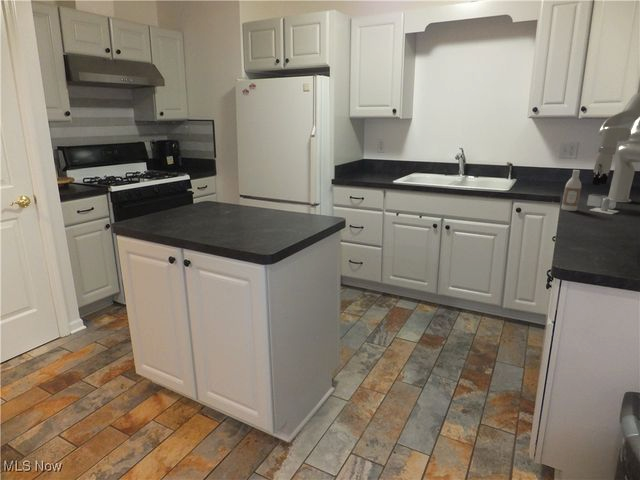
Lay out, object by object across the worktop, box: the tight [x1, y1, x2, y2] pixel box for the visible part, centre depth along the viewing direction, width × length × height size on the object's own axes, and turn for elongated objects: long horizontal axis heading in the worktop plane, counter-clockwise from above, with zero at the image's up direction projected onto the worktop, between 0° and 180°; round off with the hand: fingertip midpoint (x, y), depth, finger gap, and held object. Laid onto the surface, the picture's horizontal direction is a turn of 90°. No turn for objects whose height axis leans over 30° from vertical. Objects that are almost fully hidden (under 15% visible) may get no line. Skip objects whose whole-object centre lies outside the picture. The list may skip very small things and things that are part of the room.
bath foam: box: [561, 169, 582, 212], centre depth 215 cm, size 7×7×20 cm
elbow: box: [586, 193, 618, 210], centre depth 227 cm, size 12×6×6 cm, turn 40°
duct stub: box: [589, 198, 620, 215], centre depth 216 cm, size 10×10×6 cm
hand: (599, 184), depth 226 cm, fingers open, 9 cm apart
